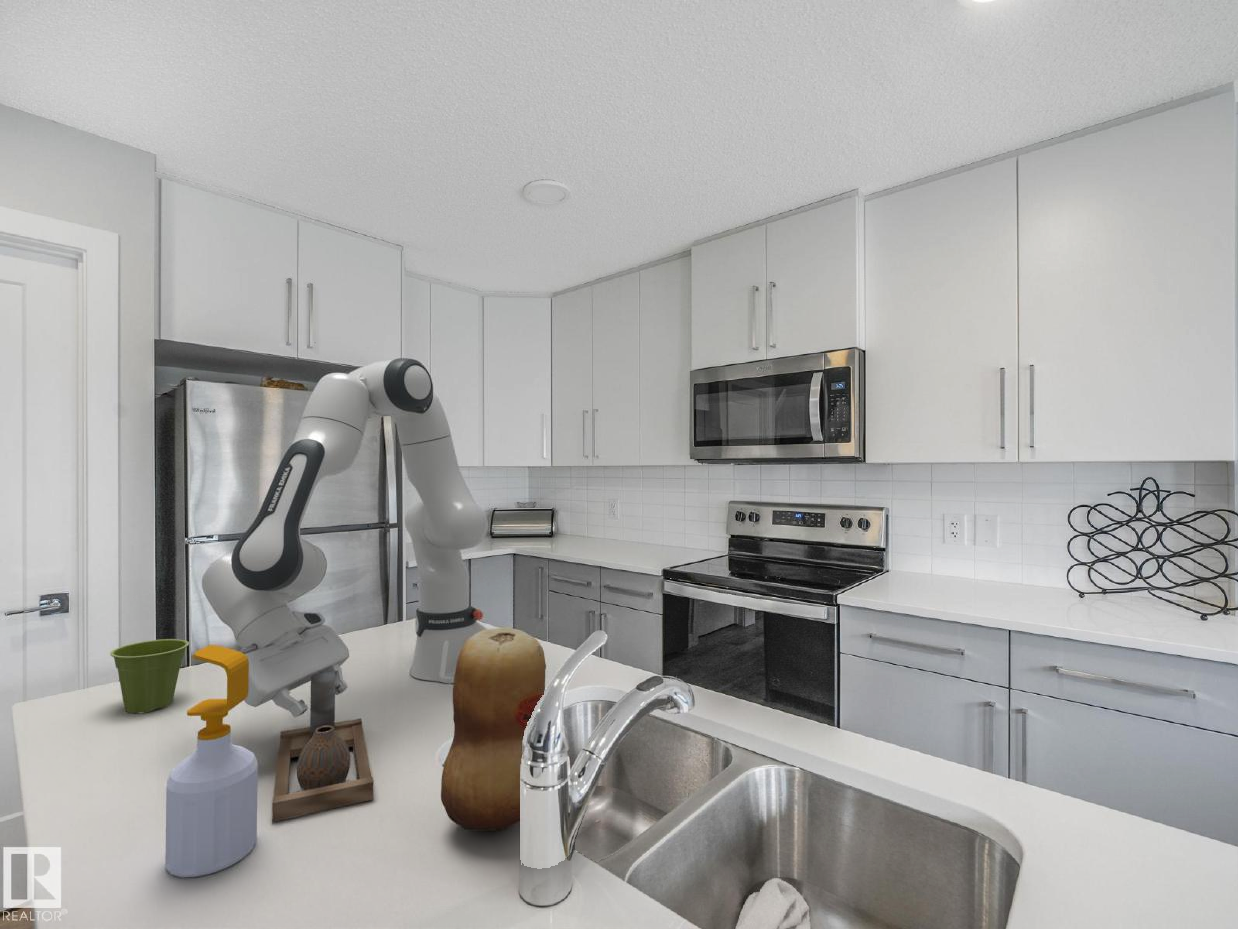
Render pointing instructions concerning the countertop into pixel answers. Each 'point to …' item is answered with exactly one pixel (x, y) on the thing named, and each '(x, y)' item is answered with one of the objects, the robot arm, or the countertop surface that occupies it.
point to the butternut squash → (491, 727)
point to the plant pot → (149, 673)
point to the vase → (323, 760)
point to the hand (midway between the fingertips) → (323, 702)
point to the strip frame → (296, 741)
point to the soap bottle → (213, 784)
